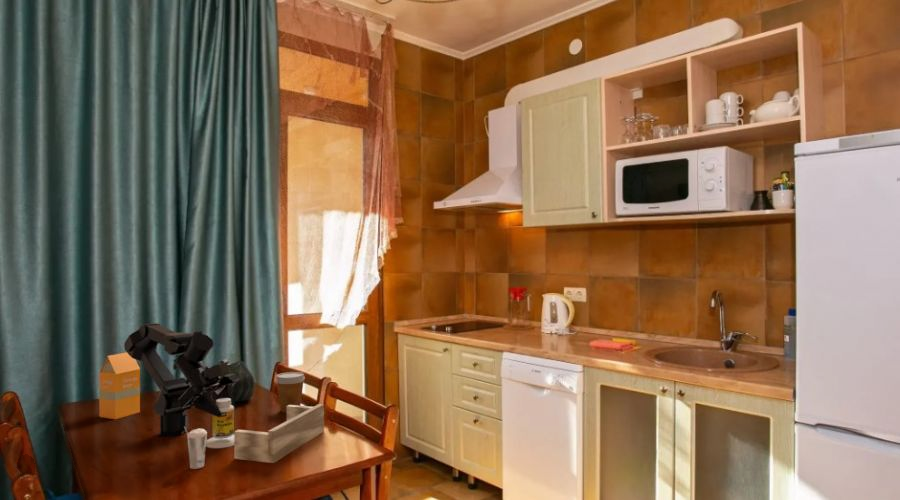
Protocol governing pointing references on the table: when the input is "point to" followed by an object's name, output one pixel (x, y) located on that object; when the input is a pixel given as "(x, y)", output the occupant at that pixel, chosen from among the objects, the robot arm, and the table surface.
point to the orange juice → (119, 387)
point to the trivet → (220, 442)
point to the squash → (239, 382)
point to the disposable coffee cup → (289, 389)
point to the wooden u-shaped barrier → (280, 435)
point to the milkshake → (197, 447)
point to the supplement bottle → (223, 419)
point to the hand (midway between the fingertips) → (227, 412)
